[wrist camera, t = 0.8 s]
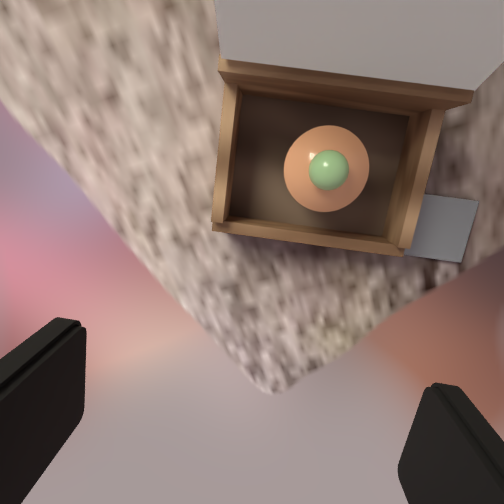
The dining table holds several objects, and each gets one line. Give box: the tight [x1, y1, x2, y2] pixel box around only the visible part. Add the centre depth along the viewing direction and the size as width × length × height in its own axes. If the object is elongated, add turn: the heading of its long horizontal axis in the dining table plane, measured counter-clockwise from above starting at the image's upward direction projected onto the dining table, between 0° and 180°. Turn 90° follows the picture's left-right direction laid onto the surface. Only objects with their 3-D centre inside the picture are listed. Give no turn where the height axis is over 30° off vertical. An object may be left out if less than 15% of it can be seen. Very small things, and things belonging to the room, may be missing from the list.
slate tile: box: [404, 194, 479, 263], centre depth 33 cm, size 6×6×1 cm
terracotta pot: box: [284, 125, 369, 212], centre depth 28 cm, size 6×6×10 cm
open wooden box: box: [211, 54, 474, 257], centre depth 21 cm, size 20×17×22 cm
